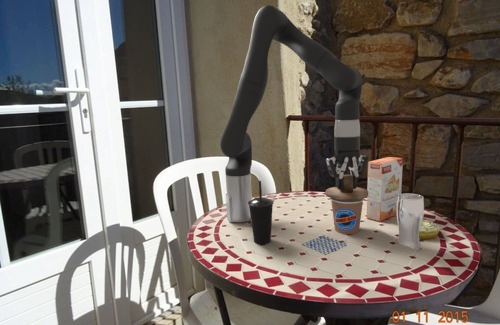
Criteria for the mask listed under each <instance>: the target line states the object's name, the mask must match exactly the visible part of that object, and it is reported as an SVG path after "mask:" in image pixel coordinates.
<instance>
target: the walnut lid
mask: <svg viewBox="0 0 500 325" xmlns="http://www.w3.org/2000/svg"><path fill="white" fill-rule="evenodd" d="M342 179H343V190H341V191H340V190H338V188H337V187H336V186H332V187H329V188H327V189H325V196H326V197H328V198H329V199H330V198H333V199H338V200H359V199H364V200H365V199H367V197H368V193H369V192H368V191H367V188H364V187H363V188H362V187H358V186H357V187H356V189H353V175H351V174H343V178H342Z"/></svg>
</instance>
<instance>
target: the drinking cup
mask: <svg viewBox="0 0 500 325" xmlns="http://www.w3.org/2000/svg"><path fill="white" fill-rule="evenodd" d="M262 194H263V193H262V181H261V180H258V196H259V197H254V198H252V200H250V201H249V202H248V205H249V209H250V216H251V220H250V222H251V227H252V236H253V242H254V243H255V244H257V245H267V244H270V243H271V242H272V239H271V238H272V224H273V222H272V220H273V205H274V203H275V202H274V200H273V199H271V198H268V197H265V196H264V197H263V196H262Z"/></svg>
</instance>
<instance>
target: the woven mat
mask: <svg viewBox="0 0 500 325" xmlns="http://www.w3.org/2000/svg"><path fill="white" fill-rule="evenodd" d="M301 245H302V247H307V248H309V249H311V250H314V251H315V252H318V253H320V254H323V255H324V256H326V255H329V254H332V253H333V252H336V251H337V250H340V249H342V248H344V247H347V242H346V243H342V241H339V242H338V239H335V240H334V239H333V238H329V236H326V237H325V235H322V236H319V237H315V238H314V239H312V240H311V239H310V240H308V241H305V242H304V243H302V244H301Z"/></svg>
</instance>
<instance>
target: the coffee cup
mask: <svg viewBox="0 0 500 325" xmlns="http://www.w3.org/2000/svg"><path fill="white" fill-rule="evenodd" d="M329 199H330V201H331V202H330V203H331V208H332V217H333V218H332V219H333V225H334V230H335V232H337V233H338V234H343V235H354V234H358V232H360V228H361V227H360V225H361V219H362V212H363V204H364V201H365V198H364V199H359V200H338V199H333V198H330V197H329Z"/></svg>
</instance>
